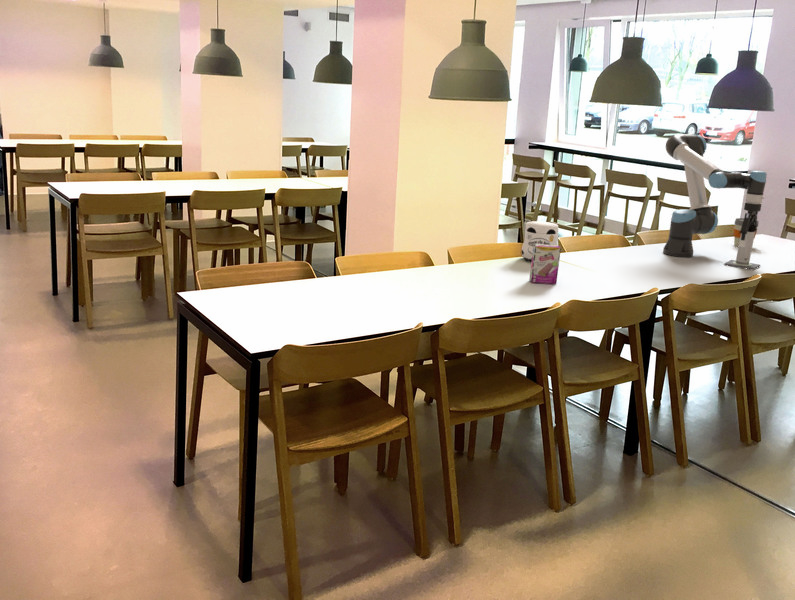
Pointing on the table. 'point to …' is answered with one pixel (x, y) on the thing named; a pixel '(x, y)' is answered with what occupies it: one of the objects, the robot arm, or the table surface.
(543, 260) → the candy bar box
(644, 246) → the table surface
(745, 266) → the pad
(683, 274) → the table surface
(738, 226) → the reusable coffee cup
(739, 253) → the travel mug
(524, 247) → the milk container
